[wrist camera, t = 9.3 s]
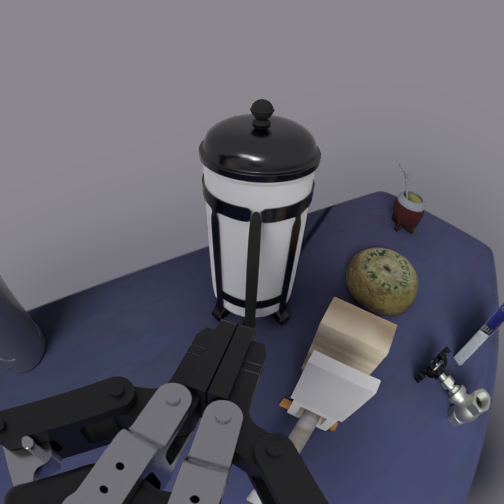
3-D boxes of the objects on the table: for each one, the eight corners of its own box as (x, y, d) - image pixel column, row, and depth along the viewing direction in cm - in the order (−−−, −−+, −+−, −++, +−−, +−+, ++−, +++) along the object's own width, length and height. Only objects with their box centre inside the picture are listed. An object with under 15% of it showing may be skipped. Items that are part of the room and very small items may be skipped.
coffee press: (182, 288, 48) (151, 100, 27) (259, 248, 55) (270, 80, 34) (246, 370, 38) (257, 155, 17) (328, 311, 45) (388, 123, 25)
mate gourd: (420, 229, 62) (443, 174, 51) (404, 241, 58) (428, 182, 48) (396, 212, 66) (415, 157, 56) (378, 222, 63) (398, 163, 52)
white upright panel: (328, 432, 29) (375, 393, 19) (283, 410, 31) (307, 361, 22) (342, 404, 32) (390, 352, 22) (299, 384, 34) (327, 324, 24)
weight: (358, 249, 56) (365, 229, 53) (418, 278, 51) (428, 260, 48) (331, 295, 48) (338, 275, 45) (402, 331, 43) (415, 313, 39)
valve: (473, 411, 31) (431, 360, 39) (499, 394, 27) (453, 339, 34) (451, 439, 29) (406, 384, 36) (478, 425, 24) (429, 364, 31)
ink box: (481, 327, 42) (515, 287, 34) (488, 335, 41) (523, 296, 33) (451, 357, 39) (490, 316, 30) (458, 367, 37) (500, 328, 29)
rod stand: (282, 515, 24) (302, 526, 15) (223, 485, 27) (214, 484, 18) (362, 370, 38) (397, 325, 30) (313, 347, 41) (334, 296, 33)
